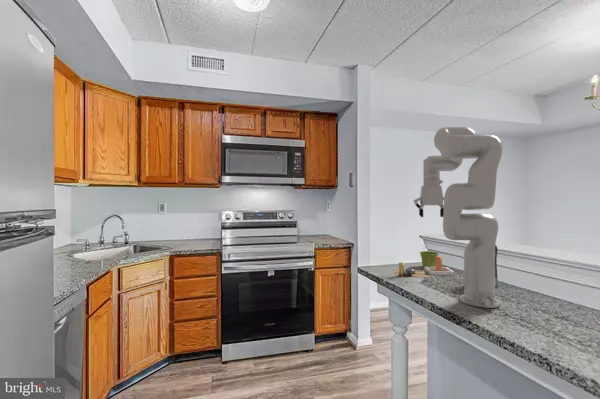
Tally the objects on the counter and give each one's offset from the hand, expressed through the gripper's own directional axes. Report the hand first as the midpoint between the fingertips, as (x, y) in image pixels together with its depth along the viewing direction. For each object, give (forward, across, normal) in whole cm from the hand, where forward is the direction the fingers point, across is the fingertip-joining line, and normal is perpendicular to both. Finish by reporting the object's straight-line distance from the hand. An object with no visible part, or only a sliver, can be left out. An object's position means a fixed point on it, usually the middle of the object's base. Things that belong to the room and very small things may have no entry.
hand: (431, 216), depth 152 cm
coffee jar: (+28, -16, +20) cm, 38 cm away
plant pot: (+28, -1, -9) cm, 30 cm away
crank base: (+28, +12, +7) cm, 31 cm away
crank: (+27, +14, +9) cm, 32 cm away
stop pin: (+28, -2, +2) cm, 28 cm away
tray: (+28, -2, +2) cm, 28 cm away
